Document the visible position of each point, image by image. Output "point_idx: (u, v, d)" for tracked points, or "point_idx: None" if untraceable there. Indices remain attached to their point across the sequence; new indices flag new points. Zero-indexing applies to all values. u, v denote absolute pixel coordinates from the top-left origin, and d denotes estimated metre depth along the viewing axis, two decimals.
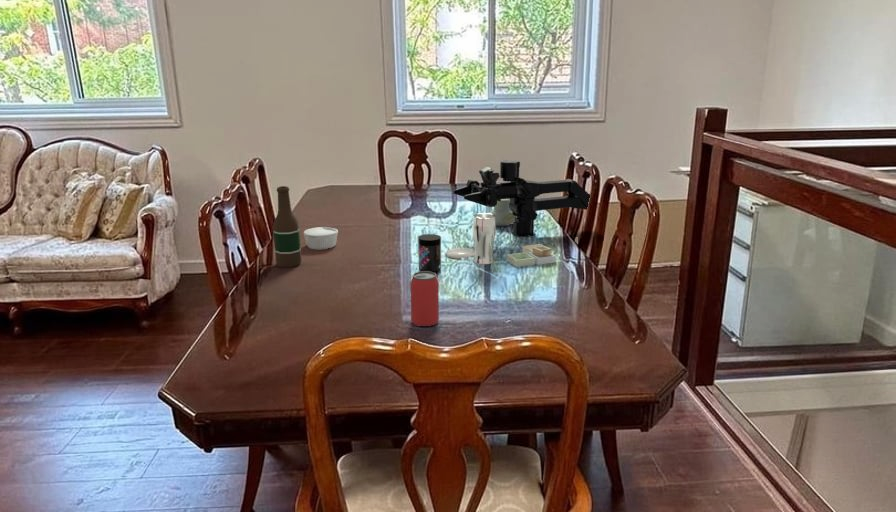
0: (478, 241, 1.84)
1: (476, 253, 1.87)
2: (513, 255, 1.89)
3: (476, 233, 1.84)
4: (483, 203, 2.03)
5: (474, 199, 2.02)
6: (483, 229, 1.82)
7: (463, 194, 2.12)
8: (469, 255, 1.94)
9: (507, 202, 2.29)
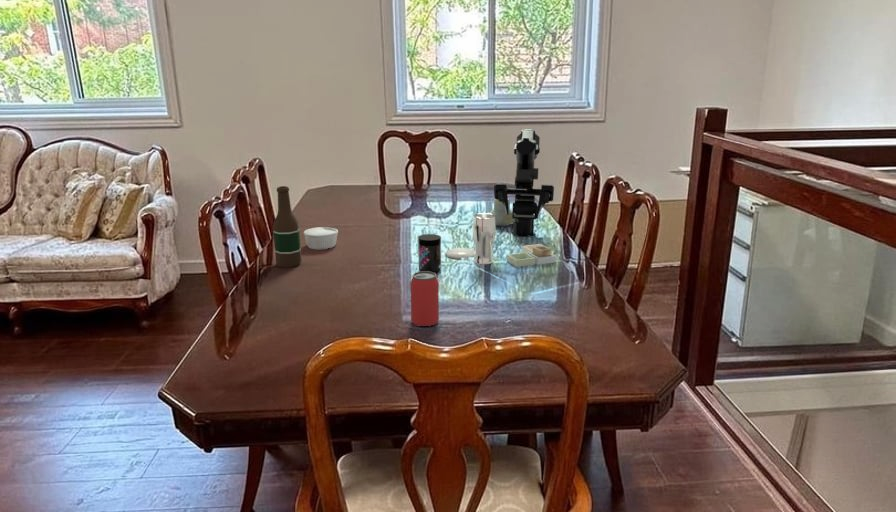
0: (478, 241, 1.84)
1: (476, 253, 1.87)
2: (513, 255, 1.89)
3: (476, 233, 1.84)
4: (544, 202, 1.94)
5: (541, 207, 1.92)
6: (483, 229, 1.82)
7: None
8: (469, 255, 1.94)
9: None
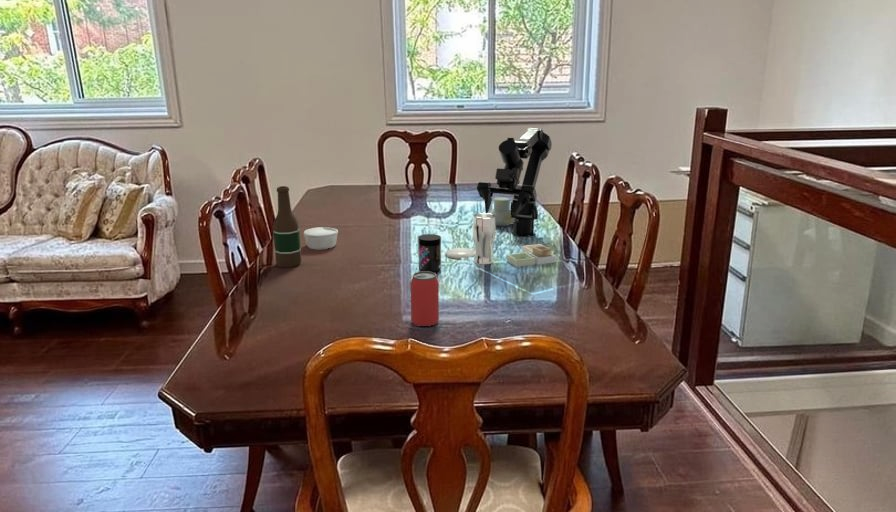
0: (478, 241, 1.84)
1: (476, 253, 1.87)
2: (513, 255, 1.89)
3: (476, 233, 1.84)
4: (526, 203, 1.93)
5: (520, 208, 1.91)
6: (483, 229, 1.82)
7: (489, 204, 1.96)
8: (469, 255, 1.94)
9: (507, 202, 2.29)
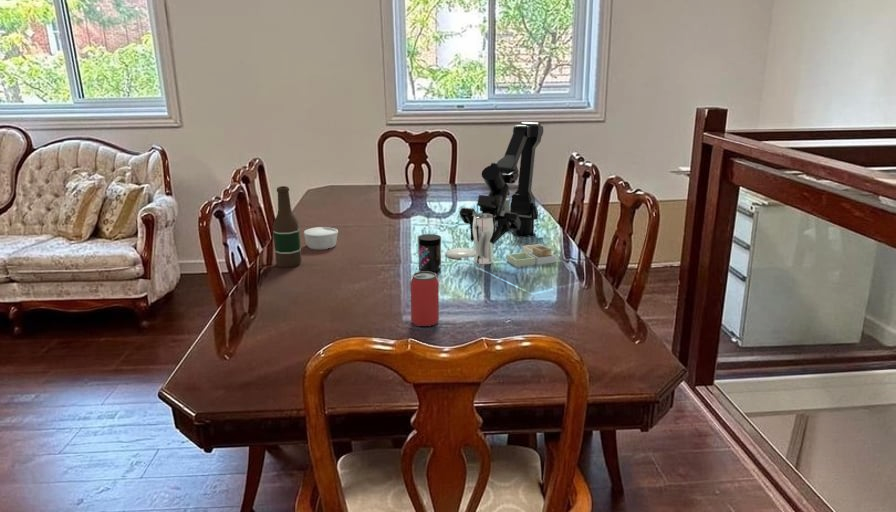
0: (478, 241, 1.84)
1: (476, 253, 1.87)
2: (513, 255, 1.89)
3: (476, 233, 1.84)
4: (506, 230, 1.87)
5: (499, 235, 1.86)
6: (483, 229, 1.82)
7: None
8: (469, 255, 1.94)
9: (507, 202, 2.29)
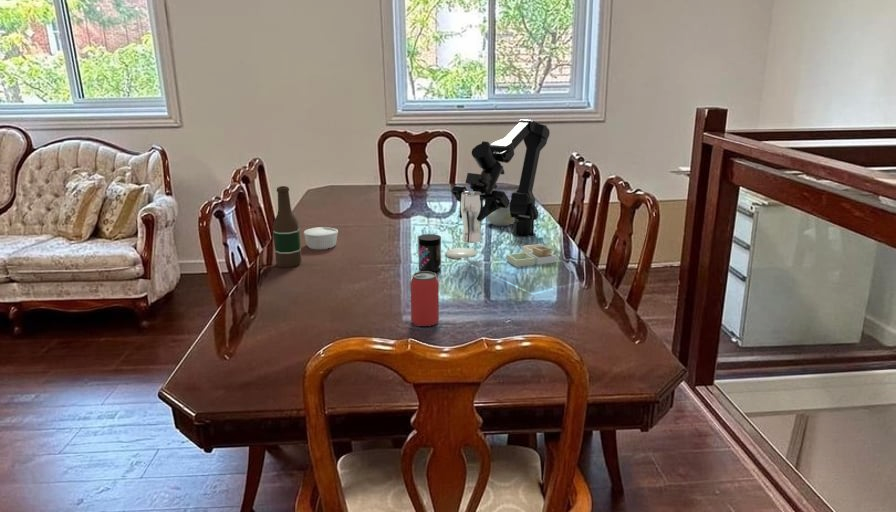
0: (465, 218, 1.87)
1: (464, 230, 1.89)
2: (513, 255, 1.89)
3: (463, 210, 1.86)
4: (494, 208, 1.89)
5: (487, 213, 1.87)
6: (470, 206, 1.85)
7: None
8: (469, 255, 1.94)
9: None
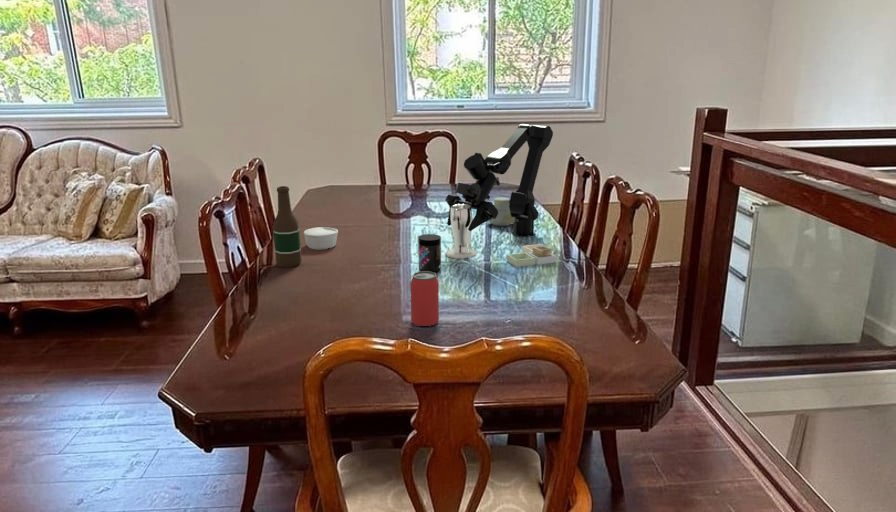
0: (454, 230, 1.93)
1: (454, 242, 1.96)
2: (513, 255, 1.89)
3: (451, 223, 1.93)
4: (486, 219, 1.92)
5: (477, 223, 1.91)
6: (457, 219, 1.91)
7: None
8: (469, 255, 1.94)
9: (507, 202, 2.29)
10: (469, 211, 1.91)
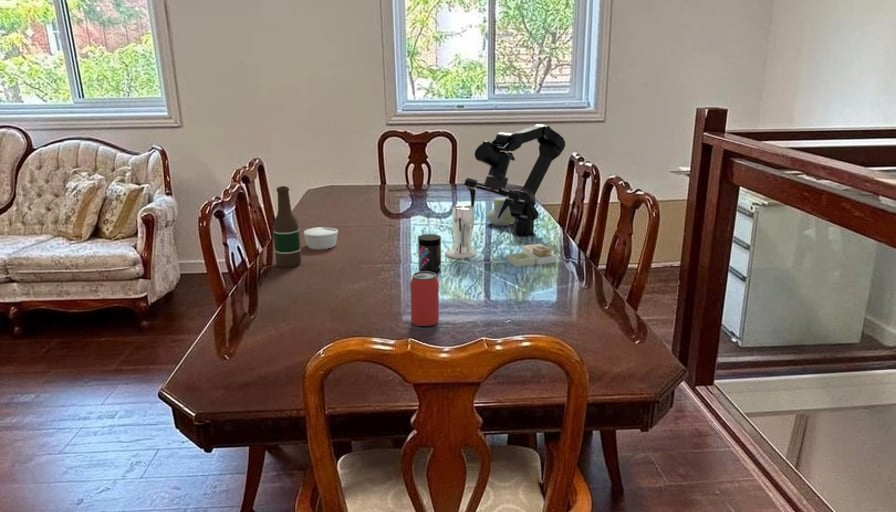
0: (455, 230, 1.93)
1: None
2: (513, 255, 1.89)
3: (453, 223, 1.93)
4: (509, 203, 2.04)
5: (504, 210, 2.03)
6: (459, 219, 1.91)
7: (474, 200, 2.05)
8: (469, 255, 1.94)
9: None
10: (471, 211, 1.91)
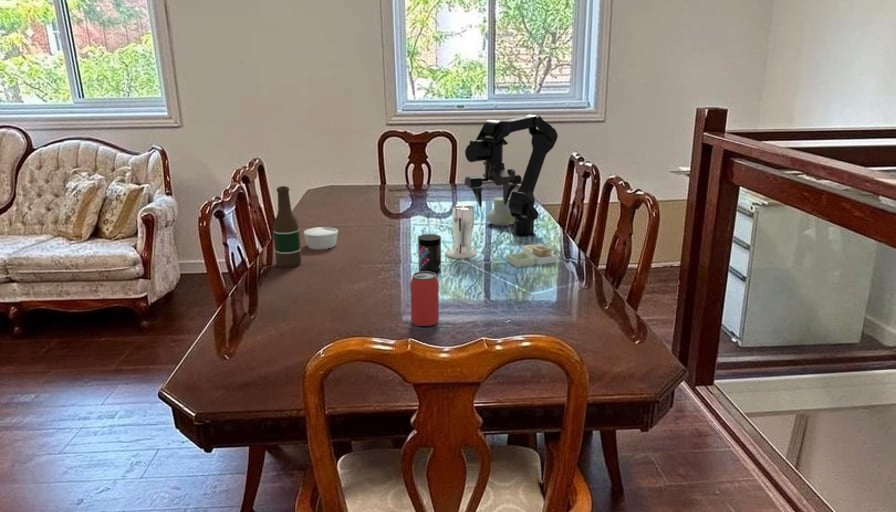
0: (455, 230, 1.93)
1: None
2: (513, 255, 1.89)
3: (453, 223, 1.93)
4: None
5: None
6: (459, 219, 1.91)
7: None
8: (469, 255, 1.94)
9: (507, 202, 2.29)
10: (471, 211, 1.91)
